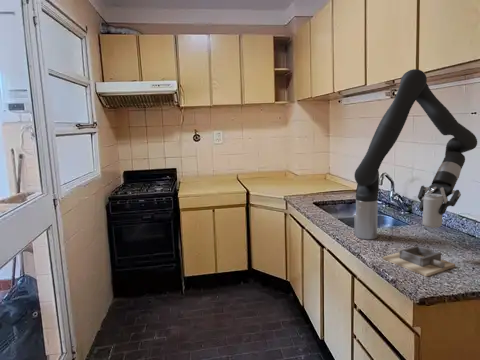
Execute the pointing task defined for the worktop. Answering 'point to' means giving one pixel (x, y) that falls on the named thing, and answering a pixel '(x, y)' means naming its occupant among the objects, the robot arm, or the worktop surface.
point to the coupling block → (419, 260)
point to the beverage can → (432, 210)
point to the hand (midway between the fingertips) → (430, 211)
